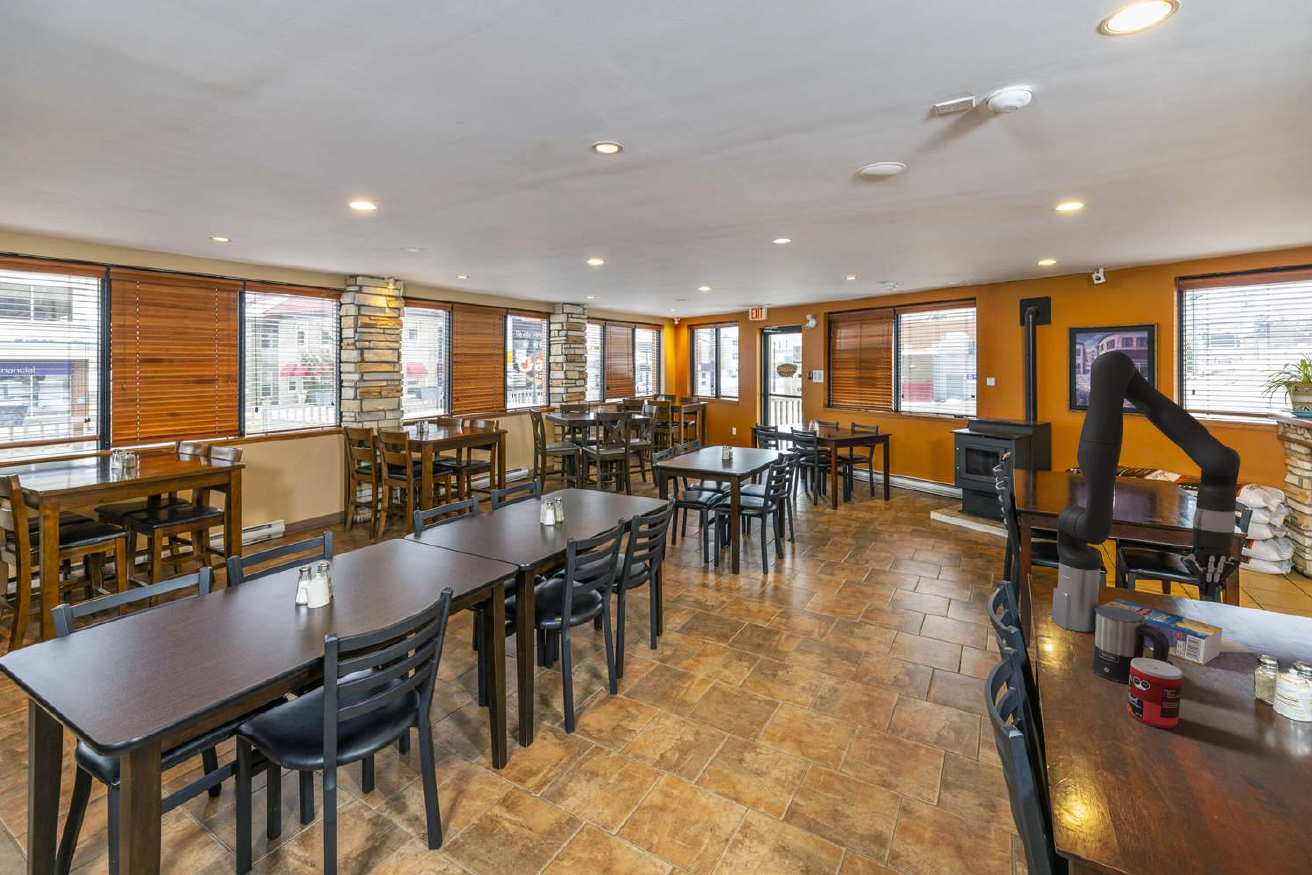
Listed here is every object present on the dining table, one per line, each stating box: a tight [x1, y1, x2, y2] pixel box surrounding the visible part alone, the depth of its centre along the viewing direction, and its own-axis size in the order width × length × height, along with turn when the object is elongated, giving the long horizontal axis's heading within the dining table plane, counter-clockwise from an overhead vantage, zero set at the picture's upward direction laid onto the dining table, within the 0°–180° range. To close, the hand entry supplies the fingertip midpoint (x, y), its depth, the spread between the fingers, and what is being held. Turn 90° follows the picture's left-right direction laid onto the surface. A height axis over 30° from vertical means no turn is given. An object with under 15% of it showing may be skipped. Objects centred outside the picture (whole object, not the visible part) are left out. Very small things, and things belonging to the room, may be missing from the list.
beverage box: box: [1100, 598, 1223, 666], centre depth 154 cm, size 7×11×22 cm
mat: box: [1149, 635, 1255, 654], centre depth 159 cm, size 24×20×1 cm
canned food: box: [1126, 657, 1183, 729], centre depth 120 cm, size 8×8×11 cm
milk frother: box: [1091, 605, 1174, 684], centre depth 138 cm, size 14×16×15 cm
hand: (1206, 595), depth 148 cm, fingers closed
